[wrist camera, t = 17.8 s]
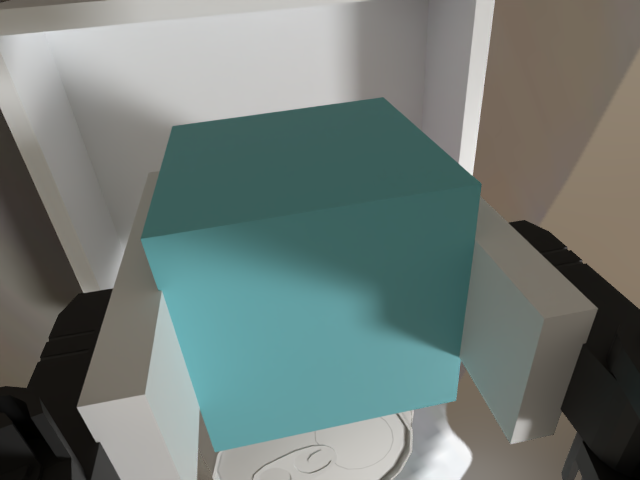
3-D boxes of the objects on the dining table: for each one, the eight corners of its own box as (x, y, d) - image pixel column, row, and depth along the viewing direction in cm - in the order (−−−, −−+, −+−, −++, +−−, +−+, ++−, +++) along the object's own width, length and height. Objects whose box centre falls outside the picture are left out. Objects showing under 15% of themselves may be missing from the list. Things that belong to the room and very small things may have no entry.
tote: (141, 326, 31) (127, 392, 26) (16, -2, 20) (-42, 13, 16) (420, 278, 33) (452, 331, 29) (441, -39, 22) (499, -35, 18)
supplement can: (301, 150, 26) (381, 341, 13) (357, 254, 30) (455, 469, 18) (176, 216, 26) (139, 457, 14) (249, 308, 31) (270, 551, 18)
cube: (172, 126, 11) (140, 239, 6) (383, 97, 11) (481, 183, 7) (216, 294, 13) (214, 452, 9) (384, 265, 14) (455, 400, 10)
